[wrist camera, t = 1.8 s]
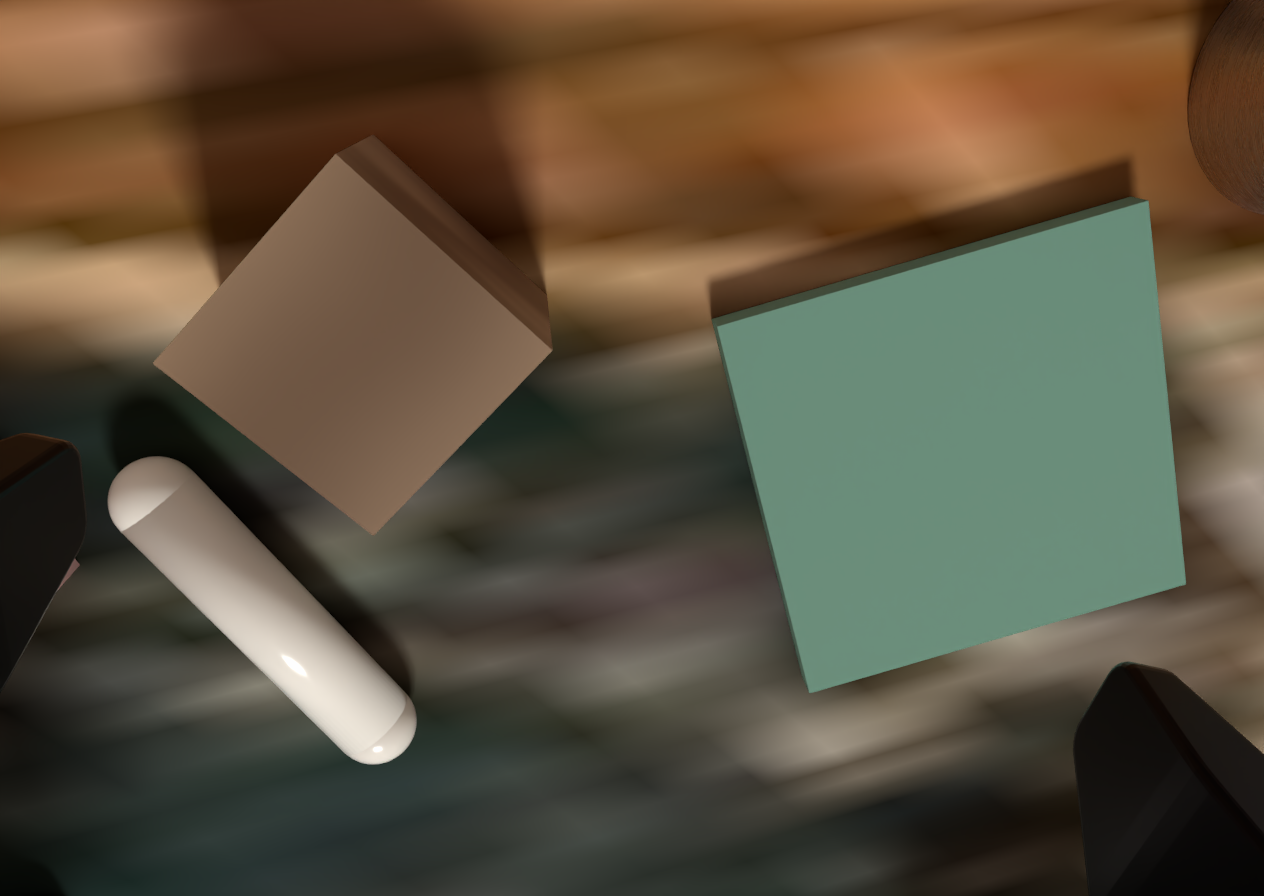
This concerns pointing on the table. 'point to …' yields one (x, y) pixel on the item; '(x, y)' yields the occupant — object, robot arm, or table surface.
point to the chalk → (261, 607)
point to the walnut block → (364, 335)
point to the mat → (962, 442)
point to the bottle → (1231, 105)
